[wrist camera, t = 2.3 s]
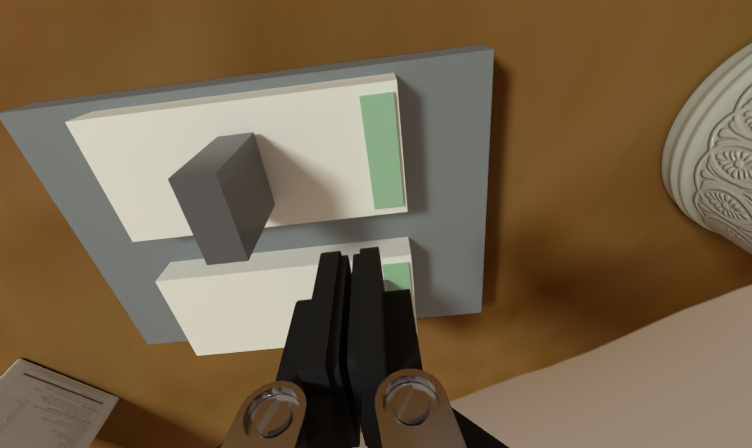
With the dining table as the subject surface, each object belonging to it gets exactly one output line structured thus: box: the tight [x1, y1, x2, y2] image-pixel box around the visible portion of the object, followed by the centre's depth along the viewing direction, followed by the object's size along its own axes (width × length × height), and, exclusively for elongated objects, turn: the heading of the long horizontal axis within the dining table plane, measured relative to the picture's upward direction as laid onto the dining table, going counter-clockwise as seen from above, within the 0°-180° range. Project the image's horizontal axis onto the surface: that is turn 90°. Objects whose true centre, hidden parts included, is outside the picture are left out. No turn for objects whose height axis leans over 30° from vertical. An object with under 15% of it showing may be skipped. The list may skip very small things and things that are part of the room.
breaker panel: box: [0, 45, 494, 356], centre depth 23 cm, size 18×26×5 cm
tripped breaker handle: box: [168, 132, 275, 265], centre depth 16 cm, size 4×2×5 cm, turn 7°
